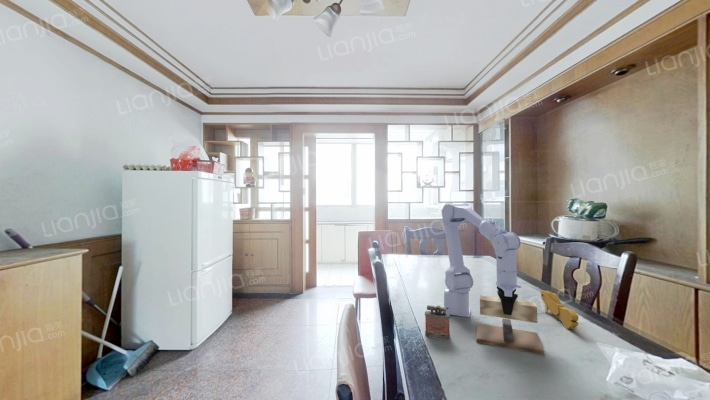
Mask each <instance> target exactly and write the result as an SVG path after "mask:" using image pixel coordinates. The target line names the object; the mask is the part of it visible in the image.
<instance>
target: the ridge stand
mask: <svg viewBox="0 0 710 400" xmlns="http://www.w3.org/2000/svg"><path fill="white" fill-rule="evenodd" d="M501 320H502V326H499V325H493V324H487V323H480V322H477V326H476V327H477V328H476V343H479V344H484V345H489V346H494V347H499V348H504V349H509V350H515V351H521V352H526V353H531V354H536V355H541V356H545V350H544V347H543V345H542V342H541V340H540V336H539V333H538V332H535V331H527V330H522V329H517V328H513V325H512V321H511V320H512V319H507V318H502V319H501Z"/></svg>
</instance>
